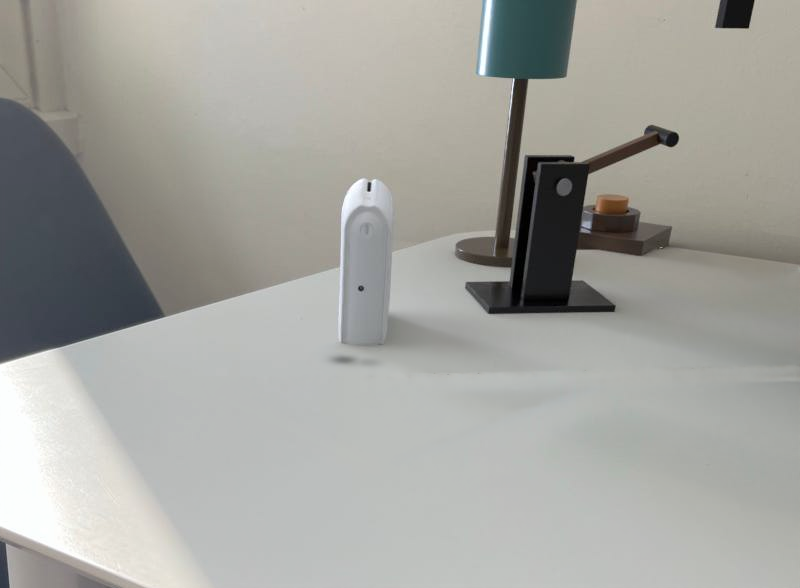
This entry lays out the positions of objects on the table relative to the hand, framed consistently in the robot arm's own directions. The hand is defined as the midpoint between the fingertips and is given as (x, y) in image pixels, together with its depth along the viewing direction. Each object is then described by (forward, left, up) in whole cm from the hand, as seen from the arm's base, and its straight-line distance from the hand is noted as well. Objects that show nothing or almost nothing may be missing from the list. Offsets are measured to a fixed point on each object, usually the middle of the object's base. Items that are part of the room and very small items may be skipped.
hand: (731, 28), depth 95 cm
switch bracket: (+15, +18, -23) cm, 33 cm away
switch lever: (+11, +17, -11) cm, 23 cm away
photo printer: (+30, +31, -23) cm, 49 cm away
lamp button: (+7, -10, -19) cm, 23 cm away
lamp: (+19, +1, -23) cm, 30 cm away
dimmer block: (+7, -10, -23) cm, 26 cm away
